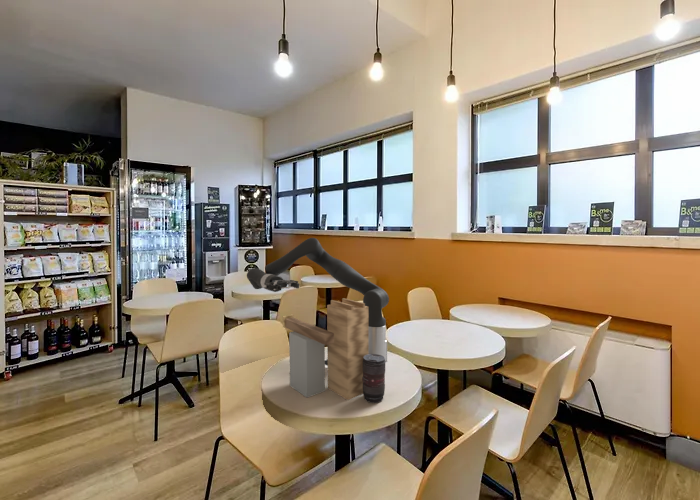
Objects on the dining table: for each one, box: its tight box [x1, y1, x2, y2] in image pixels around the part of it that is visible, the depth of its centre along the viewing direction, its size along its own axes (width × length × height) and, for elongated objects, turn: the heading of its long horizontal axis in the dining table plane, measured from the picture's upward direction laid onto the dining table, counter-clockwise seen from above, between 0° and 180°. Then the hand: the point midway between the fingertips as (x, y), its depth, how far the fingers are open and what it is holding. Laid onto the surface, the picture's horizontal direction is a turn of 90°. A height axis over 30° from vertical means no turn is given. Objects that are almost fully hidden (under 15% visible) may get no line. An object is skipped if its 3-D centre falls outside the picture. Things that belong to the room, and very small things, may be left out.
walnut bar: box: [282, 314, 334, 346], centre depth 129 cm, size 4×30×4 cm, turn 40°
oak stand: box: [326, 297, 369, 401], centre depth 128 cm, size 10×12×34 cm
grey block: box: [288, 331, 326, 398], centre depth 130 cm, size 8×12×21 cm, turn 40°
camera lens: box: [362, 354, 386, 404], centre depth 122 cm, size 8×8×15 cm
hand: (289, 287), depth 146 cm, fingers open, 8 cm apart
